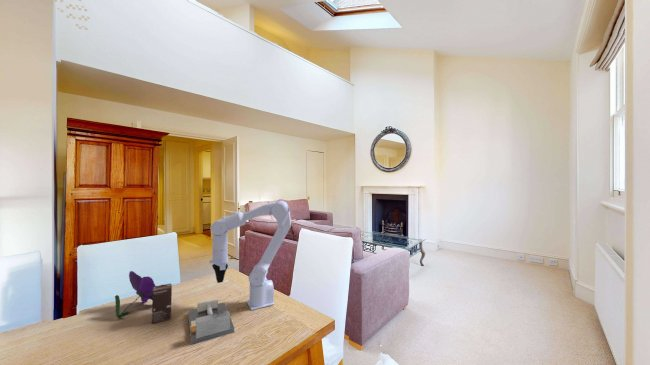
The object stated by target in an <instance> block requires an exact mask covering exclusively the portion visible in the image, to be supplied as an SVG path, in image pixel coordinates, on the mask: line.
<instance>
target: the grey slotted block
mask: <svg viewBox="0 0 650 365" xmlns="http://www.w3.org/2000/svg"><path fill="white" fill-rule="evenodd" d="M218 304H219V298H218V297H215V298H212V299H211V298H210V299H207V300H201V301H197V308H198V312H199V311H204V310H207V314H208V315H211V314H213V313H212V308H217V307H218Z"/></svg>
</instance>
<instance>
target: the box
mask: <svg viewBox="0 0 650 365" xmlns="http://www.w3.org/2000/svg"><path fill="white" fill-rule="evenodd" d="M172 288H173V286H172V283H165V284H160V285H155V286H154V287H153V289H152V300H151V302H152V303H151V304H152V305H151V306H152V307H151V310H152V311H151V312H152V313H151V316H152V318H151V323H152V324H155V323H160V322H164V321H168V320H171V319H172V294H173V291H172Z"/></svg>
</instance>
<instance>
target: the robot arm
mask: <svg viewBox="0 0 650 365" xmlns="http://www.w3.org/2000/svg"><path fill="white" fill-rule="evenodd" d="M290 208H291V207H289V204H288V202H286V201H285V200H283V199H279V200H277V201H273V202H269V203H264V204H262V205H261V206H257V207H256V208H254V209H250V210H249V211H246V212H241V211H234V212H232V214H231V215H228V216H222V217H221V218H219V219H218V220H215V221H214V222H213V223H211V226H210V232H211V233H212V259H210V260H209V261H208V262H209V264H211V266H212V269H213V271H214V273H215V279H216V283H217V284H221V283H223V282H224V280H225V274H226V272H227V269H228V268H229V264H228V262H229V258H228V255H229V253H228V252H229V250H228V249H229V248H228V245H229V244H228V243H229V241H228V240H229V239H228V238H229V237H228V234H229V232H228V231H232V230H235V229H237V228H239V227H242V226H245V225H246V223H247V221H249V220H251V219H254V218H257V217H260V216H263V215H267V216H271V215H272V216H273V218H274V219H275V220H276V223H277V225H278V226H277V229H276V231H275V232H274V234H273V236H272V238H271V240H270V242H269V244H268V245H267V248H265V251H264V253H263V254H262V257H261V258H260V260H259V262H258V263H257V264H255V265H254V267H253V269H252V271H251V272H250V274H249V275H248V282H249V299H247V300H246V303H247V305H248V307H249V310H251V311H254V310H257V309H262V308H265V307H270V306H274V305H275V301H274V299H275V298H274V297H275V296H274V293H275V290H274V289H275V288H274V283H273V280H272V279H268V278H267V275H268V272H269V268H270V267H271V264H272V262H273V260H274V258H275V256H276V254H277V253H278V250H279V249H280V247H281V245H282V244H283V242H284V240H285V238H286V236H287V235H288V233H289V231H290V229H291V226H292V220H291V209H290Z"/></svg>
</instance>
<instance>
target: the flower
mask: <svg viewBox="0 0 650 365" xmlns="http://www.w3.org/2000/svg"><path fill="white" fill-rule="evenodd" d="M128 279H129V282H130V285H131V287H132V289H133V290H135V293H136V295H138V297H137V298H135V300H134V301H133V302H131V303H130V304H129V305H127V307H126V308H125V309H124V310H123V311H122V312H121V311H120V310H121V300H120V296H119V295H118V294H116V295H115V296H114V298H115V299H114V300H115V316H116V317H117V318H119V319H121V318H123V317H125V316H127V315H130V314H131V313H132V312H130V311H127V309H129V307H130V306H132V305H133V304H134V303H136V301H138V300H139V298H140V301H141V303H148V301H149V300H151V301H152V289H153V287H154V286H156V284H155V282H154V279H153V278H152V277H150V276H143V277H141V275H139V274H137V273H136V272H134V271H132V270H130V271H129V273H128ZM120 312H121V313H120Z"/></svg>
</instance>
